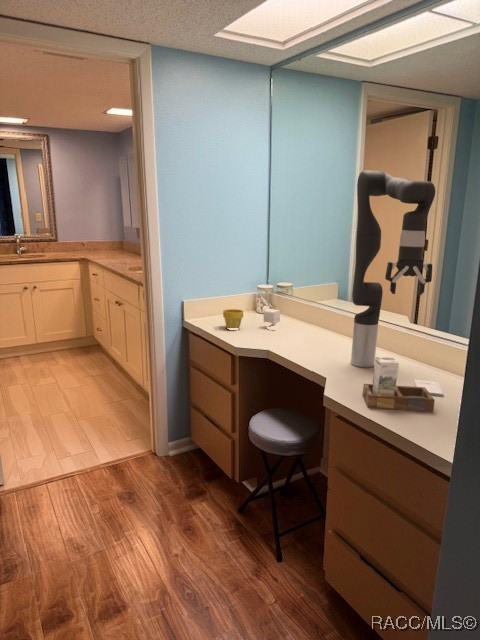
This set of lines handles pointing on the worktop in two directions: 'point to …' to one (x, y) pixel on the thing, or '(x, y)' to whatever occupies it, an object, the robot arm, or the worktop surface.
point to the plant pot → (233, 317)
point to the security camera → (272, 316)
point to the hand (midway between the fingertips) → (406, 294)
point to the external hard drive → (430, 387)
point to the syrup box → (385, 375)
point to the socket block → (400, 399)
